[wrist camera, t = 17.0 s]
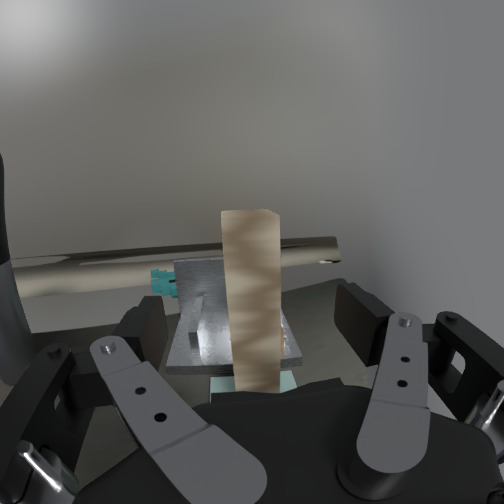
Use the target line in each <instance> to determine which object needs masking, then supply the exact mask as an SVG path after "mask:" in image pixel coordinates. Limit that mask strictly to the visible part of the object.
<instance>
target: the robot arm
mask: <svg viewBox="0 0 504 504" xmlns="http://www.w3.org/2000/svg"><path fill="white" fill-rule="evenodd" d="M334 321H335V325H336V327H337V328H338V330H339V331H340V332H341V334H342V335H343V336H344V338H345V339H346V340H347V342H348V343H349V344H350V346H351V347H352V348H353V350H354V351H355V352H356V354H357V355H358V356H359V358H360V359H361V361H362V362H363V363H364V365H365V366H366V367H369V366H373V365H377V364H378V369H377V372H376V375H375V379H374V383H373V386H372V389H369V388H365V387H361V386H350V385H344V384H343V383H342V381H341V379H340V377H339V378H334V379H329V380H324V381H318V382H312V383H308V384H306V385H303V386H300V387H297V388H294V389H291V390H288V391H285V392H282V393H262V392H249V391H237V392H218V393H211V402H208V403H204V404H201V405H198V406H195V407H193V408H190V406H189V405H188V404H187V403H186V402H185V401H184V400H183V399H182V398H181V397H180V396H179V395H178V394H177V393H176V392H175V391H174V390H173V389H172V388H171V387H170V385H169V384H168V383H167V382H166V381H165V380H164V379H163V378H162V377H161V375H160V374H159V373H158V370H159V366H160V363H161V360H162V356H163V353H164V350H165V346H166V343H167V339H168V328H167V323H166V317H165V311H164V306H163V301H162V297H161V296H144V298H143V299H142V301H141V302H140V304H139V306H138V307H133V308H132V309H130V310H129V311H127V312H126V314H125V315H124V317H123V319H122V320H121V321H120V324H118V326H117V327H116V329H115V330H114V332H113V334H112V335H111V336H106V337H102V338H100V339H98V340H96V341H95V342H93V343H92V345H91V346H90V352H85V353H77V354H73V353H72V351H71V348H70V346H69V345H68V344H67V343H63V342H57V343H52V344H50V345H47V346H46V347H44V348H43V349H42V350H41V351H40V352H38V349H37V347H36V344H35V342H34V339H33V336H32V334H31V331H30V328H29V325H28V323H27V320H26V317H25V313H24V310H23V307H22V304H21V300H20V297H19V293H18V289H17V286H16V282H15V278H14V274H13V269H12V264H11V259H10V254H9V248H8V240H7V233H6V224H5V211H4V165H3V159H2V156H1V154H0V377H1V379H2V380H3V381H4V382H5V383H7V384H10V385H15V386H14V388H13V389H12V391H11V392H10V394H9V395H8V397H7V398H6V400H5V401H4V403H3V404H2V406H1V407H0V502H1V503H2V504H504V481H503V478H502V476H501V473H500V470H499V466H498V465H499V464H502V463H504V348H503V347H501V346H500V345H499V344H498V343H496V342H495V341H494V340H493V339H491V338H490V337H489V336H487V335H486V334H485V333H484V332H482V331H481V330H479V329H478V328H477V327H476V326H474V325H473V324H472V323H470V322H469V321H468V320H466V319H465V318H463V317H462V316H460V315H459V314H456V313H453V312H448V311H445V312H440V313H439V314H438V315H437V317H436V322H435V324H422V321H421V319H420V318H418V317H417V316H416V315H413V314H410V313H405V312H399V313H395V312H394V311H393V310H391V309H390V308H389V307H388V306H386V305H385V304H384V303H383V302H382V301H380V300H379V299H378V298H377V297H375V296H374V295H373V294H370V293H368V292H365V291H364V290H363V289H361V288H360V287H359V286H358V285H357V284H355V283H344V284H339V285H338V286H337V291H336V301H335V311H334ZM456 351H457V352H458V353H460V354H461V355H462V356H463V357H464V359H465V370H464V372H463V374H461V373H460V372H459V371H458V370H457V369H456V368H455V367H454V366H453V365H452V364H451V362H452V360H453V357H454V354H455V352H456ZM428 383H429V385H430V386H431V387H432V388H433V389H434V391H435V392H436V393H437V395H438V396H439V397H440V398H441V400H442V401H443V402H444V403H445V405H446V406H447V407H448V409H449V410H450V411H451V412H452V414H453V415H454V416H455V418H456V419H457V420H454V419H451V418H448V417H445V416H442V415H439V414H436V413H433V412H430V409H429V408H428V407H427V393H428ZM57 394H58V396H59V397H60V399H61V400H60V402H59V404H58V406H57V408H56V410H55V408H54V401H55V398H56V396H57ZM107 405H113V407H114V408H115V410H116V412H117V414H118V416H119V417H120V419H121V421H122V423H123V424H124V426H125V428H126V429H127V431H128V433H129V434H130V436H131V438H132V439H133V441H134V443H135V444H136V446H137V447H138V449H137V450H135V451H134V452H133V453H131V454H130V455H129V456H127V457H126V458H125V459H123V460H122V461H121V462H119V463H118V464H116V465H115V466H114V467H112V468H111V469H110V470H108V471H107V472H105V473H104V474H102V475H101V476H99V477H98V478H97V479H95V480H94V481H92V482H91V483H89V484H88V485H86V486H85V487H84V488H82V489H81V490H80V485H79V481H78V479H77V477H76V476H75V474H74V471H75V467H76V464H77V460H78V457H79V453H80V450H81V447H82V444H83V441H84V438H85V435H86V432H87V429H88V426H89V423H90V420H91V417H92V414H93V412H94V409H95V407H99V406H107Z"/></svg>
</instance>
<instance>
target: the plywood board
mask: <svg viewBox="0 0 504 504" xmlns="http://www.w3.org/2000/svg"><path fill="white" fill-rule="evenodd" d="M279 221H280V220H279V215H277V214H275V213H273V212H271V211H269V210H267V209H250V210H234V211H233V210H232V211H222V213H221V223H222V239H223V252H224V253H223V254H224V268H225V281H226V294H227V306H228V318H229V329H230V339H231V350H232V360H233V370H234V379H235V388H236V392H237V391H249V392H262V393H280V357H281V271H280V224H279V223H280V222H279Z"/></svg>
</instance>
